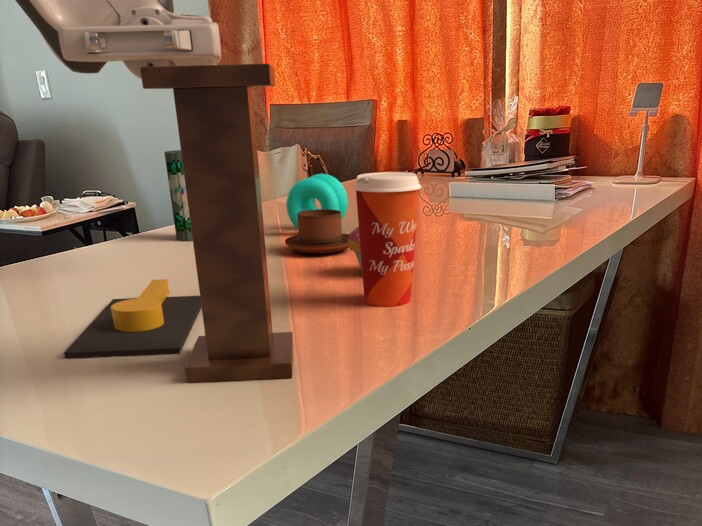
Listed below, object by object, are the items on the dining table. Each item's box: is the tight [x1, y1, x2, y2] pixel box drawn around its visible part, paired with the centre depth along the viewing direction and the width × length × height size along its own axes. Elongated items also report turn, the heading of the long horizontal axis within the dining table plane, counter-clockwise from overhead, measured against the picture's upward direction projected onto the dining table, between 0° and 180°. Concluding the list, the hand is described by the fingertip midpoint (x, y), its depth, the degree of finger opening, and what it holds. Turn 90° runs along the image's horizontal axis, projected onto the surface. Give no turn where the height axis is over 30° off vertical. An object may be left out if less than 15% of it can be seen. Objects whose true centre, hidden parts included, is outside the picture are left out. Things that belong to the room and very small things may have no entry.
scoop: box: [111, 278, 170, 332], centre depth 88 cm, size 18×6×2 cm, turn 4°
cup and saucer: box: [284, 208, 350, 255], centre depth 120 cm, size 12×12×6 cm
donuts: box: [286, 173, 349, 230], centre depth 136 cm, size 10×10×10 cm
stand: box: [140, 63, 294, 384], centre depth 66 cm, size 10×10×26 cm
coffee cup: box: [352, 171, 422, 307], centre depth 89 cm, size 8×8×15 cm
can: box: [163, 149, 193, 242], centre depth 132 cm, size 6×6×15 cm
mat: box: [63, 295, 202, 359], centre depth 85 cm, size 12×22×1 cm, turn 4°
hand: (130, 39), depth 86 cm, fingers open, 8 cm apart
